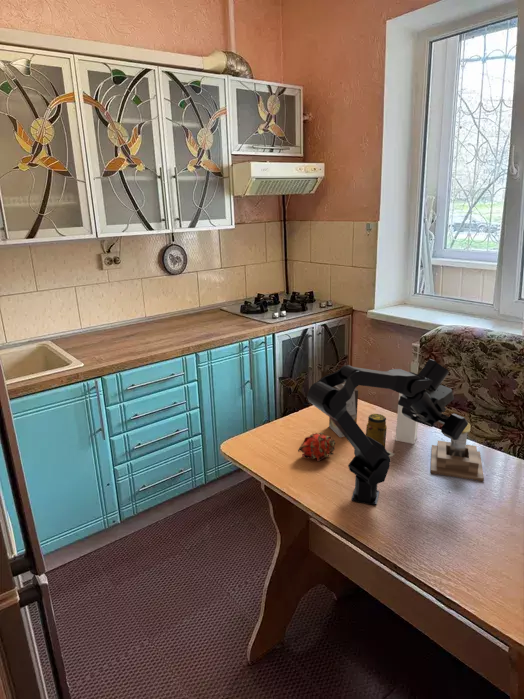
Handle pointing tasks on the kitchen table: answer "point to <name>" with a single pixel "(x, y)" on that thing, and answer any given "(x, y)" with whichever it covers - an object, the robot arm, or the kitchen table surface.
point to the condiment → (377, 429)
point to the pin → (459, 443)
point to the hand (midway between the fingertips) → (445, 431)
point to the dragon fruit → (317, 446)
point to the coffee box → (351, 409)
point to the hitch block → (456, 462)
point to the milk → (405, 427)
